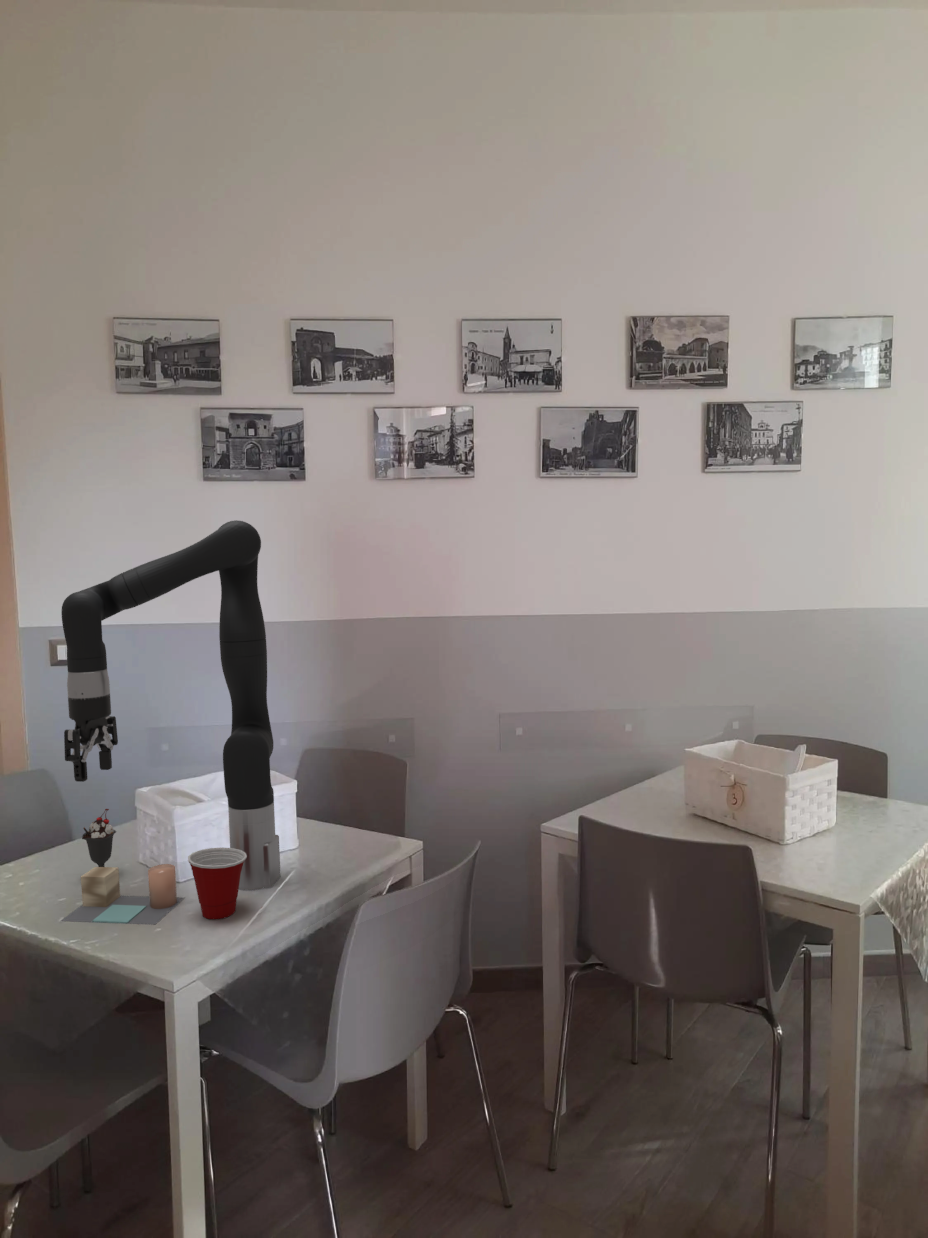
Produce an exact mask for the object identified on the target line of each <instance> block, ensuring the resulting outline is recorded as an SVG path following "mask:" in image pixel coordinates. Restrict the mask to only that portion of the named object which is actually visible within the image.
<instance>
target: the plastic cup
mask: <svg viewBox="0 0 928 1238" xmlns="http://www.w3.org/2000/svg"><path fill="white" fill-rule="evenodd" d="M246 858H247V855H246V853H245V852H243V851H242V850H238V849H234V848H230V847H209V848H205V849H199V850H196V851H194V852H192V853H191V854H189V855H188V856H187V861H188V863H189V865H190V868H191V871H192V872H191V873H192V877H193V878H194V885H195V890H196V894H197V898H198V903H199V904H200V910H201V914H202V917H203V918H205V919H206V920H223V919H226V918H228V917H230V916H233V915H234V913H235V912H236V908H237V899H238V896H239V882H240V875H241V871H242V866H243V863H244V861H245V859H246Z"/></svg>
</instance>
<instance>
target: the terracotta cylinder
mask: <svg viewBox="0 0 928 1238" xmlns="http://www.w3.org/2000/svg"><path fill="white" fill-rule="evenodd" d="M147 875H148V876H147V877H148V878H147V879H148V892H149V894H148V895H149V897H150V907H151V908H154V909H163V908H168V907H171V906H173V905H175V904H176V903H177V894H178V893H177V878H176V865H174V864H170V863H161V864H156V865H154V866H150V867H149V869H148V870H147Z"/></svg>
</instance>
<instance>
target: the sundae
mask: <svg viewBox="0 0 928 1238" xmlns="http://www.w3.org/2000/svg"><path fill="white" fill-rule="evenodd" d="M109 810H110V809H109V808H105V809H104V812H103V813H102V814H101V816H98V817H97V818H96V819H95V820H94V821H92V823H90V825H89V826H88V830H87V829H86V827H85V826H84V827H83V828H82V829H83V830H84V833H82V836H81V839H82V840H85V841H86V844H87V848H88V855H89V857H90V860H91V861H92V862H93V863H94V864H96V865H98V866H97V867H105V864H106V863H107V862H108V861H109V860H110V858H111V857H112V852H113V851H112V850H113V841H114V835H115V834H116V833H117V831H116V830H115V829H114V827H113V826H112V825H111V824H110V820H109V819H108V818H107V813H108V811H109ZM104 814H105V815H104ZM103 816H105V819H103V818H102V817H103Z"/></svg>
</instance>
